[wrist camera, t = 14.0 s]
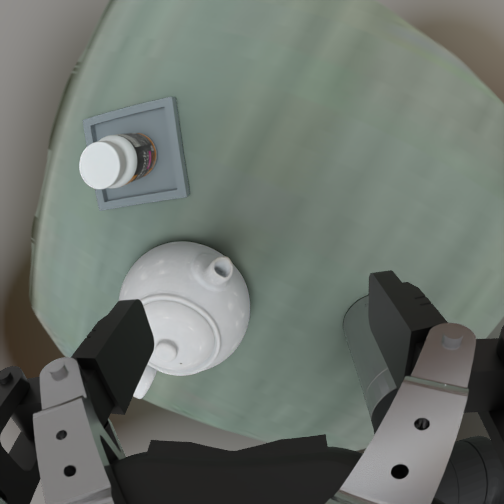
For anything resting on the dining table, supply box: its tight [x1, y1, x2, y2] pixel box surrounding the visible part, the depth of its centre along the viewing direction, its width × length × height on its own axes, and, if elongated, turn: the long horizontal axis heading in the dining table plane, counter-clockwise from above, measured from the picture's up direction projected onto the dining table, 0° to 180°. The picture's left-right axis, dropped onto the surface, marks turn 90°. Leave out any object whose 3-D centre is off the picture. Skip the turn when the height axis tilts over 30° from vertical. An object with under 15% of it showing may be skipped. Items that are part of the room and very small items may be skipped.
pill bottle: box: [79, 133, 157, 189], centre depth 32 cm, size 6×6×10 cm
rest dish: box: [83, 97, 190, 211], centre depth 36 cm, size 12×12×2 cm
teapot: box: [119, 241, 250, 399], centre depth 38 cm, size 19×18×14 cm
